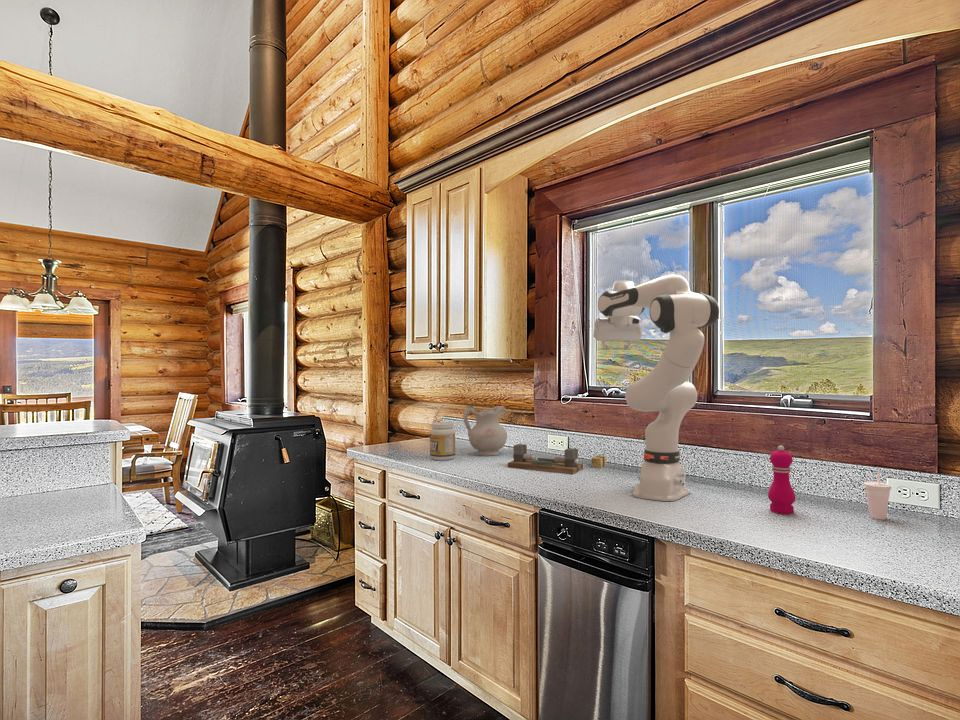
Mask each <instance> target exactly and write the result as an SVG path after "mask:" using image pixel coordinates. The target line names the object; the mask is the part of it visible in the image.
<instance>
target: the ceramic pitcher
mask: <svg viewBox="0 0 960 720" xmlns="http://www.w3.org/2000/svg"><path fill="white" fill-rule="evenodd" d="M506 412H507V410H506V407H505V406H503V405H501V406H500V405H495V406H494V407H492V408H491V409H486V408H484V409H482V410H481V411H480V412H478V411H476V410H475V409H474V405H472V404H471V405H470V404H469V405H467V406H465V408H464V410H463V413H462V414H463V415H462V418H463V419H462V420H463V423H464V426H465V427H466V429H467V436H468V440H469V443H470V445H471V447H472V448H473V449H475V450H477V452H476V453H475V454H476V455H477V456H482V457H488V456H500V455H502V453H500V452H499V450H501V449H502V448H504V447H505V445H506V443H507V439H508V432H507V430H506V429H505V428H504V427H503V426H501V424H500V421H499V419H500V417H501V415H502V414H503V413H506ZM469 413H471V414H472V415H474V417H475V420H476V421H475V425H474V426H473V427H472V428H471V426H470V425H471V424H470V423H469V422H470V421H468V415H469Z"/></svg>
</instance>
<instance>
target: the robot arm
mask: <svg viewBox="0 0 960 720" xmlns="http://www.w3.org/2000/svg"><path fill="white" fill-rule="evenodd" d="M612 285H613V286H612V290H605V291H604V292H603V293H602V294H601V295H600V296H599V297H598V300H597V308H598V311H599V312H600V313H601V314H602V315H603V316H604V318H603V317H598V319H596V320H595V322H594V330H593V338H594V339H595V340H596V341H601V344H602V350H603V351H607V350H608V346H609V345H607V344H606V342H607V341H627V343H626V344H625V345H624V347H623V349H624V351H629V350H630V346H632V344H633V341H640V340H641V338H642V336H643V333H642V332H643V327H642V325H641V324H642V319H641V318H640V317H639V316H640V315H642V314H643V312H644V311H645V309H649V317H650V320H651V321H652V322H653V324H654V325H655V327H656V328H659V330H660V332H662V333H664V334H669V339H668V341H667V343H666V346H665V347H664V349H663V352H662V354H661V356H660V358H659V360H658V362H657V363H656V365H655V366H654V367H653V368H652V369H651V370H650V371H649V372H648V373H647V374H646V375H645V376H643V377H642V378H640V379H638V380H637V381H633V382H632V383H630V384H629V385H628V386H627V388H626V389H625V390H626V391H625V393H624V395H625V396H624V398H625V402H626V404H627V406H628V407H629V408H630V409H631V410H633V411H638V412H645V413H646V412H647V413H649V412H658V416H657V417H656V419H655V420H654V421H651V422H650V423H649V424H648V425H647V426H646V428H645V437H644V438H645V442H644V443H645V444H644V445H645V449H644V451H643V462H642V463H641V465H640V466H641V467H640V473H639V474H640V475H639V476H638V480H639V482H638V483H637V482H636V483H635V485H634V489H633V491H632V496H633V497H635V498H639V499H644V500H645V499H646V500H652V501H653V500H654V501H660V502H661V501H662V502H676V501H678V500H679V499H681V498H684V497H685V496H687V495H689V494H691V489H689V488H686V475H685V474H686V473H685V471H686V470H685V468H684V466H683V465H681V463H680V461H681V460H680V459H681V453H680V450H679V438H680V437H679V434H680V433H679V431H680V428H681V427H680V426H681V424H682V421H683V419H684V417H685V416H686V414H687V413H688V412H689V411H690V410H691V409H692V408H694V407H695V405H696V403H697V401H698V391H697V389H696V388H697V387H695V385H694V384H693V383H692V382H689V381H688V380H689V379H690V378H691V375H692V373H693V371H694V369H695V367H696V366H697V363H698V362H699V360H700V357H701V355H702V352H703V349H704V345H705V339H706V338H705V334H703V331H701V330H700V329H699V328H705V327H710V326H713V325H714V324H715V323H716V322H717V320H718V318H719V314H720V307H719V306H720V305H719V303H718V302H717V300H716V299H715V298H714V297H713V296H712V295H708V294H705V293H704V292H702V291H700V290H698V291H697V292H693V291H691V289H690V285H689V282H688V280H687V279H686V277H683V276H682V275H679V274H667V275H663V276H659V277H657V278H655V279H652V280H649V281H647V282H644V283H641V284H638V285H636V286H635V283H634V282H633V280H625V279H623V280H621V279H619V280H615V281H614V283H613V284H612Z"/></svg>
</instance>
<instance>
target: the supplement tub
mask: <svg viewBox="0 0 960 720" xmlns="http://www.w3.org/2000/svg"><path fill="white" fill-rule="evenodd" d="M429 456H430V457H429V458H430V459H431V460H433V461H440V460H442V461H451V460H454V459H455V457H456V430H455V428H454V422H451V421H450V422H449V421H439V422H437V421H436V422H432V423H431V429H430V431H429Z"/></svg>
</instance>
